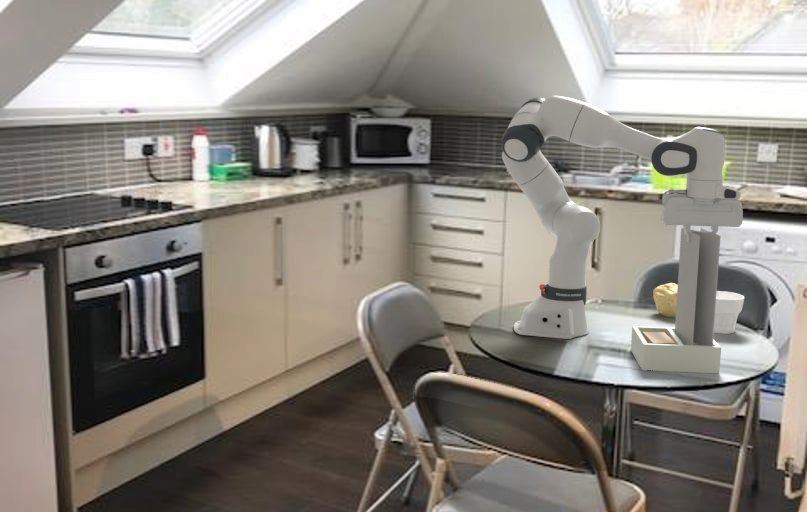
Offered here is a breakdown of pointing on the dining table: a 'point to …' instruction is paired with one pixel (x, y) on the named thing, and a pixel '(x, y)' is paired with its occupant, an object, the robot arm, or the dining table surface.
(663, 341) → the offcut top
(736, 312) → the cup
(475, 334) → the dining table surface
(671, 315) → the yellow rounded lump
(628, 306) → the dining table surface
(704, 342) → the brochure
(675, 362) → the divided tray
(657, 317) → the dining table surface
